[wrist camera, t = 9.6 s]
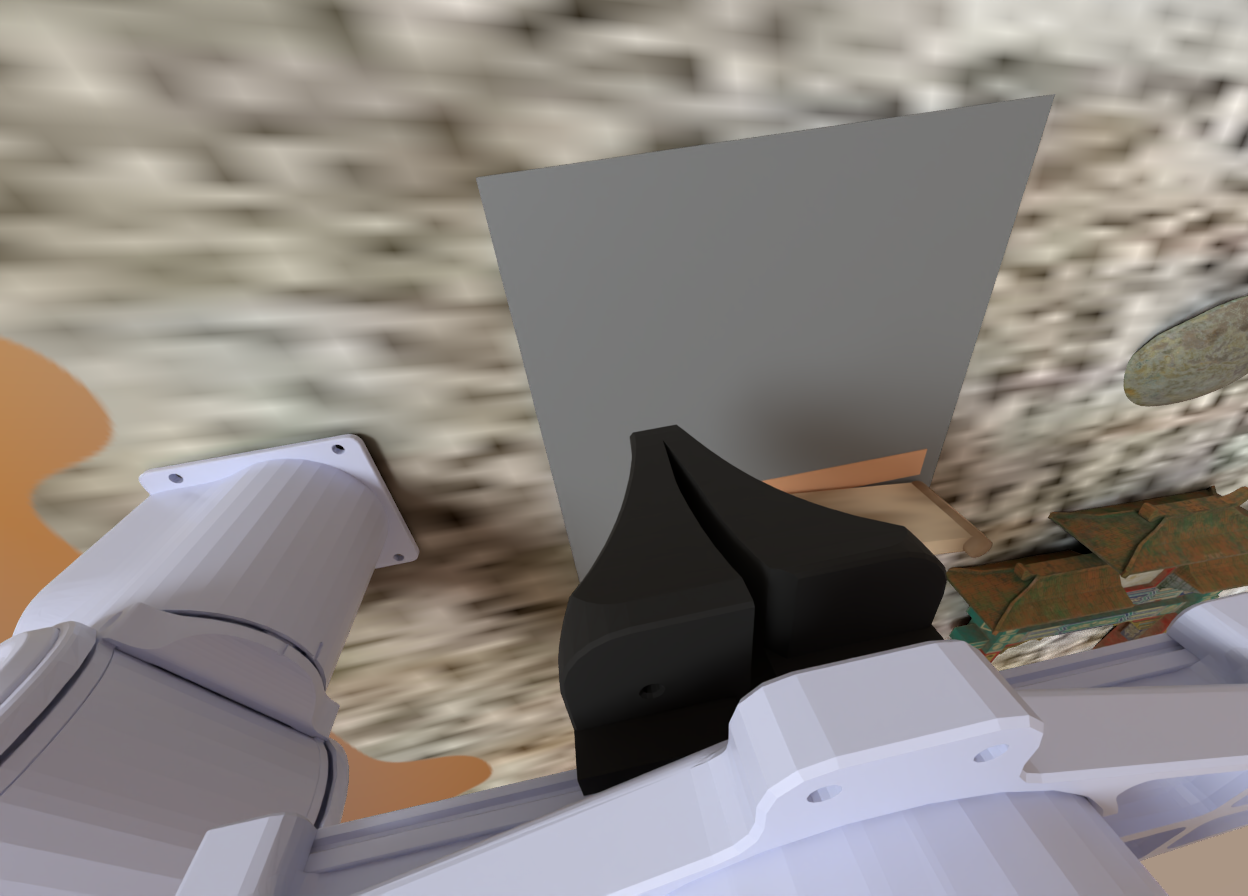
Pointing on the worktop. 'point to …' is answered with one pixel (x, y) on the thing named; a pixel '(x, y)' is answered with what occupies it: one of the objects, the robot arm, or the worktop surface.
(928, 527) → the tan wooden plank
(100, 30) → the worktop surface
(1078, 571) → the miniature gate
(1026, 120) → the board
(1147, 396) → the soupspoon
